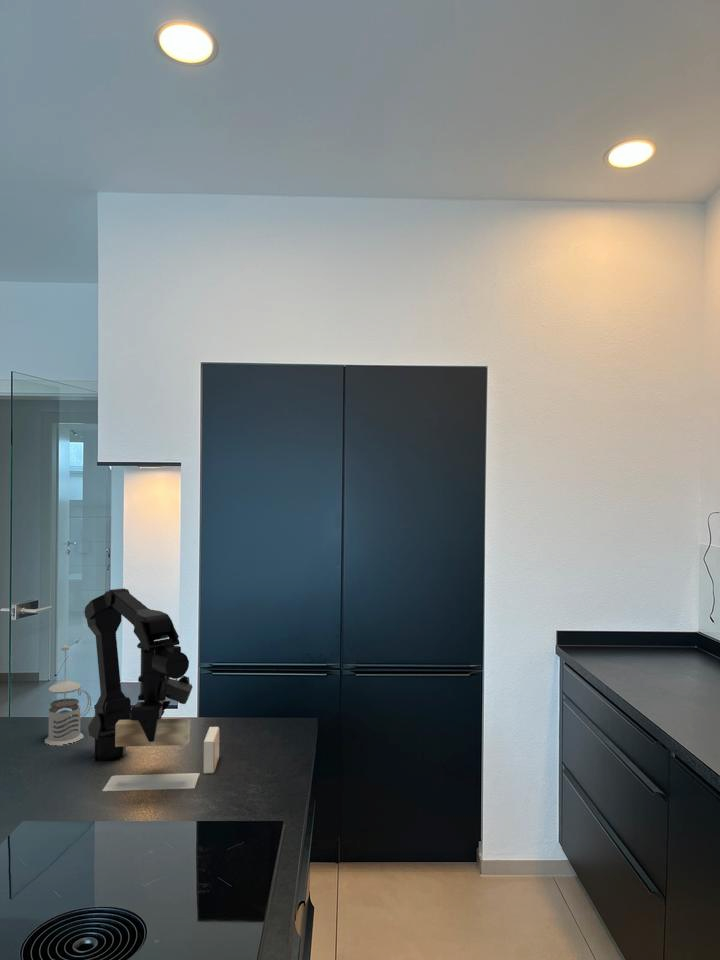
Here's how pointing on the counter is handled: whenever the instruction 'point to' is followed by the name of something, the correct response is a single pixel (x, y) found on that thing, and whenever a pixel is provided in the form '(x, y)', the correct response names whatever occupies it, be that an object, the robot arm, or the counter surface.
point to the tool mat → (151, 782)
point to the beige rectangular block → (165, 733)
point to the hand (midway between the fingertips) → (153, 738)
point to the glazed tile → (211, 750)
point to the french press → (65, 713)
